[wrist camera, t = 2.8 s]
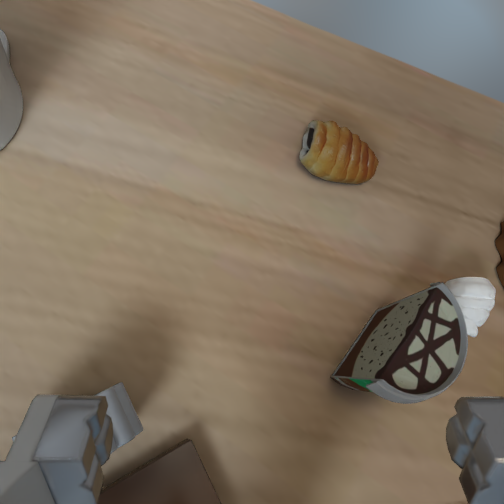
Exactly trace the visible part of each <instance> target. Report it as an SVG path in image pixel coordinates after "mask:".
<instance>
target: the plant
mask: <svg viewBox="0 0 504 504" xmlns="http://www.w3.org/2000/svg"><path fill="white" fill-rule="evenodd" d="M501 227H502V233H501V235H500V236H499V237H498V238H497V239H496V241H495V245H496V248H497V250H498V251H499V253H500V255H501V258H502V263H501V264H500V265H499V266H498V267H497V273H498V276H499V279H500V281H501V283H502V285H503V287H504V221H503V222H502V223H501Z"/></svg>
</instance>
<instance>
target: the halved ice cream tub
mask: <svg viewBox="0 0 504 504" xmlns="http://www.w3.org/2000/svg"><path fill="white" fill-rule="evenodd" d="M430 285H431V287H430V288H427V289H425V290H423V291H420V292H418V293H415V294H413V295H411V296H408V297H406V298H404V299H401V300H399V301H396V302H394V303H392V304H389V305H387V306H385V307H382V308H380V309H377V310H376V311H375V313H374V314H373V316H372V317H371V319H370V320H369V322H368V323H367V324H366V326H365V327H364V329H363V330H362V332H361V333H360V335H359V336H358V338H357V339H356V341H355V342H354V344H353V345H352V347H351V348H350V349H349V351H348V352H347V354H346V355H345V357H344V358H343V360H342V361H341V363H340V364H339V366H338V367H337V369H336V370H335V372H334V373H333V374H332V376H331V378H332V379H333V380H335V381H336V382H337V383H338V384H340V385H343V386H345V387H348V388H350V389H353V390H361V391H369V392H373V393H375V394H377V395H379V396H380V397H382V398H384V399H387V400H390V401H392V402H397V403H403V404H406V403H417V402H421V401H424V400H427V399H429V398H432V397H434V396H436V395H439V394H440V393H442V392H443V391H444V390H446V389H447V388H448V387H449V386H450V385H451V384H452V383H453V382H454V381H455V380H456V378H457V377H458V375H459V374H460V372H461V370H462V368H463V366H464V363H465V359H466V355H467V348H468V334H467V328H466V323H465V319H464V316H463V313H462V311H461V308H460V306H459V304H458V302H457V300H456V298H455V297H454V295H453V294H452V293H451V291H450V290H449V289H448V288H447V286H446V285H445V284H444V283H440V282H437V283H431V284H430Z"/></svg>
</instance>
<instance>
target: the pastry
mask: <svg viewBox="0 0 504 504" xmlns="http://www.w3.org/2000/svg"><path fill="white" fill-rule="evenodd" d="M299 158H300V161H301V163H302V164H303V165H304V166H305V167H306V169H307V170H308V171H309V172H310V173H311V174H312V175H314V176H317V177H320V178H322V179H323V180H329V181H334V182H341V183H349V184H360V183H363V182H366V181H368V180H370V179H371V178H372V177H373V176H374V174H375V171H376V168H377V166H378V163H379V161H378V159H377V158H376V156H375V154H374V152H373V151H372V150H371V149H370V148H369V147H368V144H367V143H365V142H363V141H361V140H360V138H359V136H358V135H357V134H352V133H351V131H350V130H349V129H348V128H347V127H339V126H338V125H337V123H336V122H334V121H327V122H322V121H319V120H318V121H315V120H313V121H311V122H310V123H309V124H308V129H307V131H306V133H305V134H304V137H303V149H302V150H301V151H300V156H299Z"/></svg>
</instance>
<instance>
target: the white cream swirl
mask: <svg viewBox="0 0 504 504" xmlns="http://www.w3.org/2000/svg"><path fill="white" fill-rule="evenodd" d="M445 285H446V286H447V288H448V289H449V290H450V291H451V293H452V294H453V295H454V297H455V298H456V300H457V302H458V304H459V306H460V308H461V311H462V313H463V316H464V319H465V323H466V328H467V334H468V335H470V336H471V337H476V336H477V334H478V328H477V326H479V327H480V326H482V325H483V324H484V323H485V321H486V320H487V318H488V316H489V311H490V310H491V309H492V308H493V306H494V304H495V300H494V298H495V294H496V290H495V288H494V286H493V285H492V284H491V283H490V281H489V280H488V279H486V278H482V277H462V278H456V279H452V280H449V281H447V282H446V283H445Z"/></svg>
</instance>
